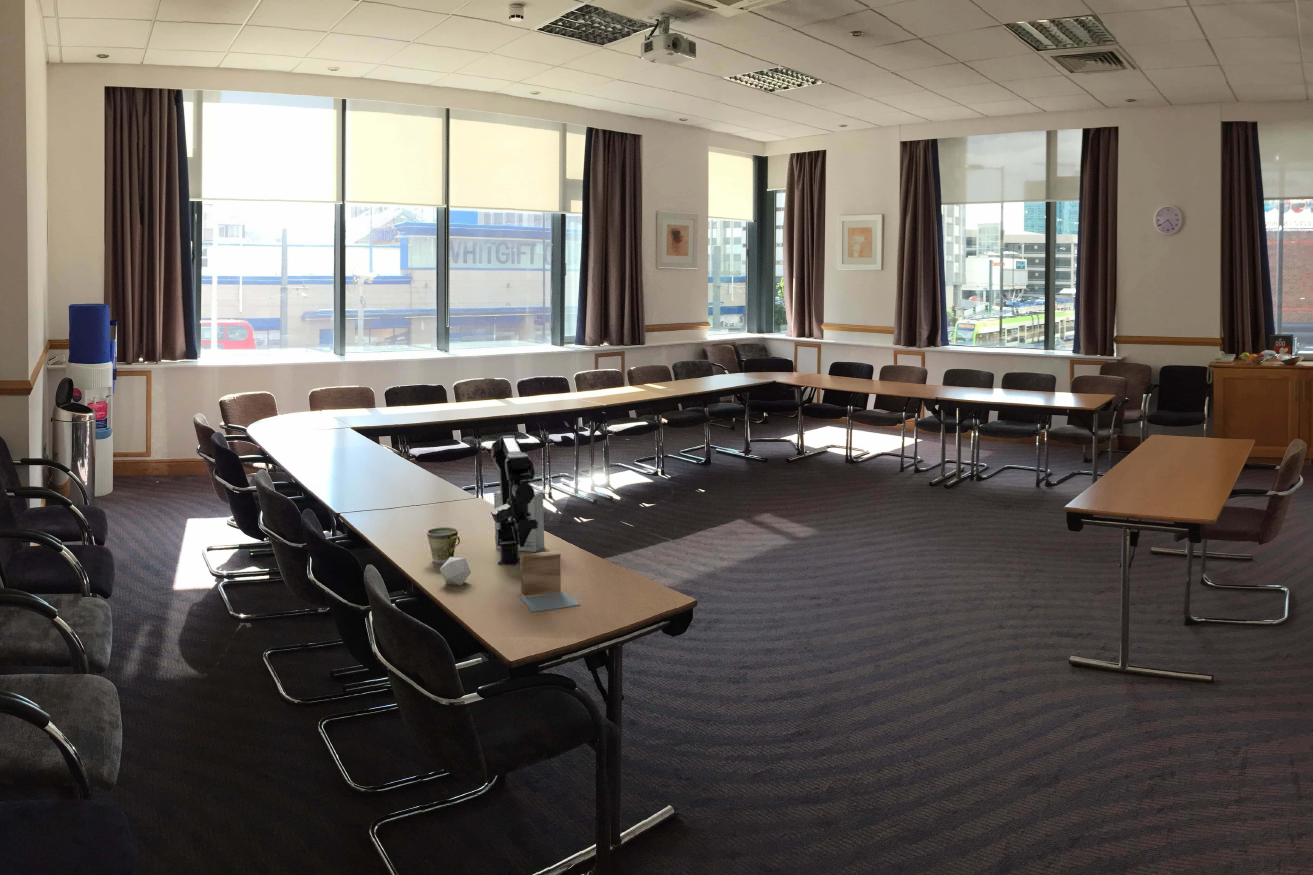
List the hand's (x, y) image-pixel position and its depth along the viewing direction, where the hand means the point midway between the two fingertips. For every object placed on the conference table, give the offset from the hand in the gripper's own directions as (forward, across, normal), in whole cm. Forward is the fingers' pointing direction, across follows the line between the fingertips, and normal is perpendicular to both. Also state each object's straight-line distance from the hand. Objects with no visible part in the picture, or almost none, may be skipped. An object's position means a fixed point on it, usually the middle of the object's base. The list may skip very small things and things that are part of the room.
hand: (519, 545), depth 287 cm
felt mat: (+11, +23, +2) cm, 26 cm away
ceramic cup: (+11, -29, -17) cm, 35 cm away
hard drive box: (+11, -34, +10) cm, 38 cm away
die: (+11, -5, -19) cm, 23 cm away
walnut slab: (+11, +15, +2) cm, 19 cm away
